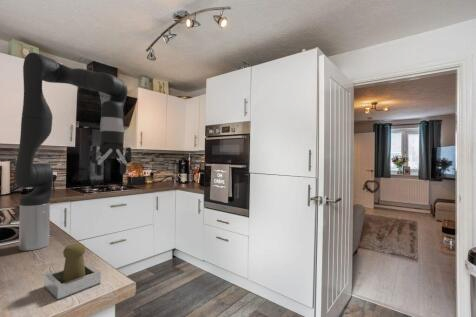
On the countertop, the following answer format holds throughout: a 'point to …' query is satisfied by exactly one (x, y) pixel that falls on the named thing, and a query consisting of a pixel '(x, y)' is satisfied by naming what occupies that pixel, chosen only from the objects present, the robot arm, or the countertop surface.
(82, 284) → the grey shallow square box
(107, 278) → the countertop surface
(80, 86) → the robot arm
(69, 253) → the cork
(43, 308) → the countertop surface
